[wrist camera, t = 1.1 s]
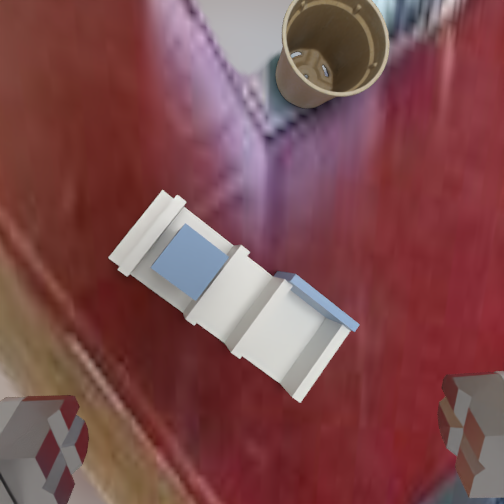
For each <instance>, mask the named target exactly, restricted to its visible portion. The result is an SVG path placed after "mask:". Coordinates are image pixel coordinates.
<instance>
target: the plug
mask: <svg viewBox="0 0 504 504" xmlns="http://www.w3.org/2000/svg"><path fill="white" fill-rule="evenodd" d="M228 258H229V257H228V256H227V255H226V254H225V253H223V252H222V251H221V250H219V249H218V248H217V247H216V246H214V245H213V244H212V243H210V242H209V241H208V240H207V239H205V238H204V237H203V236H201V235H200V234H199V233H198V232H196V231H195V230H194V229H192V228H191V227H190V226H188V225H187V224H186V223H185V224H184V225H183V226H182V228H181V229H180V230H179V231H178V232H177V234H176V235H175V236H174V237H173V239H172V240H171V241H170V243H169V244H168V245H167V246H166V248H165V249H164V250H163V251H162V253H161V254H160V255H159V257H158V258H157V259H156V260H155V262H154V263H153V264H152V266H151V268H152V269H153V270H154V271H156V272H157V273H158V274H160V275H161V276H162V277H164V278H165V279H166V280H168V281H169V282H170V283H172V284H173V285H174V286H176V287H177V288H179V289H180V290H181V291H183V292H184V293H185V294H187V295H188V296H189V297H191V298H192V299H193V300H195V301H196V300H197V299H198V298H199V296H200V295H201V294H202V292H203V291H204V290H205V288H206V287H207V286H208V284H209V283H210V282H211V281H212V279H213V278H214V277H215V275H216V274H217V273H218V271H219V270H220V269H221V267H222V266H223V265H224V263H225V262H226V261H227V259H228Z"/></svg>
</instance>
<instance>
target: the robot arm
mask: <svg viewBox="0 0 504 504" xmlns="http://www.w3.org/2000/svg"><path fill="white" fill-rule="evenodd" d="M442 390H443V392H444V394H445V396H446V397H445V398H444V399H443V400H441V401H440V402H439V406H438V414H437V415H438V424H439V429H440V433H441V436H442V439H443V441H444V443H445V446H446V448H447V449H449V450H450V451H451V452H452V453H454V454H455V455H456V456H457V460H456V465H455V468H456V470H457V472H458V475H459V477H460V479H461V481H462V483H463V486H464V488H465V490H466V492H467V494H468V497H469V498H496V497H504V371H496V372H480V373H464V374H449V375H446V376H445V377H444V379H443V383H442ZM78 409H79V404H78V402H77V400H76V398H75V396H71V395H62V396H27V397H6V398H4V399H3V400H1V401H0V504H67V503H68V500H69V498H70V495H71V493H72V490H73V488H74V485H75V483H74V480H73V477H72V474H73V473H74V472H75V471H76V470H77V469H78V468H79V467H81V466H82V464H83V462H84V459H85V456H86V453H87V448H88V440H89V436H88V428H87V425H86V423H85V421H84V420H83V419H82V418H80V417H79V416H77V415H76V414H77V411H78Z"/></svg>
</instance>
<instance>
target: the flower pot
mask: <svg viewBox="0 0 504 504" xmlns="http://www.w3.org/2000/svg"><path fill="white" fill-rule="evenodd" d="M282 44H283V48H282V52H281V55H280V58H279V61H278V64H277V67H276V82H277V86H278V89H279V91H280V92H281V94H282V96H283V97H284V98H285V99H286V100H287V101H288V102H290V103H292V104H294V105H296V106H298V107H300V108H314V107H317V106H319V105H321V104H323V103H324V102H326V101H328V100H331V99H333V98H335V97H346V96H352V95H355V94H358V93H360V92H362V91H364V90H366V89H367V88H369V87H370V86H371V85H372V84H373V83H374V82H375V81H376V80H377V79H378V78H379V76H380V75H381V73H382V72H383V70H384V68H385V65H386V63H387V59H388V55H389V37H388V30H387V27H386V23H385V21H384V19H383V16H382V14H381V13H380V11H379V9H378V8H377V6H376V5H375V4H374V3H373V1H372V0H293V1H292V3H291V4H290V6H289V8H288V10H287V12H286V14H285V17H284V21H283V27H282ZM295 52H300V53H301V55H298V56H295V57H293V58H291V56H290V55H291V54H292V53H295ZM322 65H324V67H325V68H326V69H327V72H328V74H329V76H328V77H327V76H325V74H324V70H323V68H322ZM304 75H307V76H308V78H307V79H306V78H305V77H304Z"/></svg>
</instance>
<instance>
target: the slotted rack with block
mask: <svg viewBox="0 0 504 504" xmlns="http://www.w3.org/2000/svg"><path fill="white" fill-rule="evenodd" d="M185 204H186V201H185V200H183V199H182V198H181V197H179V196H178V195H176V197H175V198H174V199H173V198H172V197H171V196H170V195H168V194H167V193H166V192H164V191H163V190H162V191H161V193H160V194H159V195H158V196H157V198H156V199H155V200H154V201H153V202H152V204H151V205H150V206H149V207H148V209H147V210H146V211H145V212H144V214H143V215H142V216H141V217H140V219H139V220H138V221H137V222H136V224H135V225H134V226H133V227H132V229H131V230H130V231H129V232H128V234H127V235H126V236H125V237H124V239H123V240H122V241H121V242H120V244H119V245H118V246H117V247H116V249H115V250H114V251H113V252H112V254H111V255H110V256H109V257H108V258H109V259H110V260H111V261H113V262H114V263H116V264H117V265H118V266H120V267H119V268H118V269H117V270H118V271H120V272H121V273H122V274H124V275H125V276H127V277H128V276H129V275H130V274H131V275H132V276H133V277H135V278H136V279H137V280H139V281H140V282H142V283H143V284H144V285H146V286H147V287H148V288H150V289H151V290H152V291H154V292H155V293H157V294H158V295H159V296H161V297H162V298H163V299H165V300H166V301H168V302H169V303H170V304H172V305H173V306H174V307H176V308H177V309H178V310H180V311H181V312H183V315H184V318H185V319H186V320H187V321H188V322H190V323H191V324H192V325H194V326H195V324H196V323H198V324H199V325H200V326H202V327H203V328H204V329H206V330H207V331H209V332H210V333H211V334H213V335H214V336H215V337H217V338H218V339H220V340H221V341H222V342H224V343H225V345H226V346H227V348H228V349H229V350H230V352H231V353H232V354H234V355H235V356H236V357H238V358H239V359H240V358H241V357H242V356H243V357H244V358H246V359H247V360H248V361H250V362H251V363H252V364H254V365H255V366H256V367H258V368H259V369H261V370H262V371H263V372H265V373H266V374H267V375H269V376H270V377H272V378H273V379H274V380H276V381H277V382H278V383H280V384H281V385H282V386H283V388H284V389H285V390H286V391H287V392H288V393H289V394H290V395H291V396H292V397H293V398H294V399H295V400H297V401H298V402H300V403H301V401H302V400H303V398H304V397H305V396H306V394H307V393H308V391H309V390H310V388H311V387H312V385H313V384H314V383H315V381H316V380H317V378H318V377H319V375H320V374H321V373H322V371H323V370H324V368H325V367H326V365H327V364H328V362H329V361H330V360H331V358H332V357H333V355H334V354H335V352H336V351H337V350H338V348H339V347H340V345H341V344H342V342H343V341H344V339H345V338H346V337H347V335H348V334H349V332H350V330H351V331H354V332H355V331H356V329H357V328H358V326H359V324H358V323H357V322H356V321H354V320H353V319H352V318H351V317H349V316H348V315H347V314H346V313H344V312H343V311H342V310H341V309H339V308H338V307H337V306H335V305H334V304H333V303H332V302H330V301H329V300H328V299H327V298H325V297H324V296H323V295H322V294H320V293H319V292H318V291H317V290H315V289H314V288H313V287H311V286H310V285H309V284H308V283H306V282H305V281H304V280H303V279H301V278H300V277H299V276H298V275H296V274H293V273H287V272H281V271H277V272H276V274H275V275H274V276H272V275H271V274H269V273H268V272H267V271H265V270H264V269H263V268H262V267H260V266H259V265H258V264H257V263H255V262H254V261H253V260H251V259H250V258H249V257H248V256H247V255H248V254H249V253H250V251H248V250H247V249H246V248H244V247H243V246H242V245H235V246H234V245H232V244H231V243H230V242H228V241H227V240H226V239H225V238H223V237H222V236H221V235H219V234H218V233H217V232H216V231H214V230H213V229H212V228H210V227H209V226H208V225H207V224H205V223H204V222H203V221H202V220H200V219H199V218H198V217H196V216H195V215H194V214H193V213H191V212H190V211H189V210H187V209H186V208H185V207H184V206H185ZM185 223H186V224H187V225H188V226H190V227H191V228H192V229H194V230H195V231H196V232H198V233H199V234H200V235H201V236H203V237H204V238H205V239H207V240H208V241H209V242H210V243H212V244H213V245H214V246H216V247H217V248H218V249H219V250H221V251H222V252H223V253H225V254H226V255H227V256H228V257H229V258H228V259H227V261H226V262H225V263H224V265H223V266H222V267H221V269H220V270H219V271H218V273H217V274H216V275H215V277H214V278H213V279H212V281H211V282H210V283H209V284H208V286H207V287H206V288H205V290H204V291H203V292H202V294H201V295H200V296H199V298H198V299H197V300H196V301H195V300H193V299H192V298H191V297H189V296H188V295H187V294H185V293H184V292H183V291H181V290H180V289H179V288H177V287H176V286H174V285H173V284H172V283H170V282H169V281H168V280H166V279H165V278H164V277H162V276H161V275H160V274H158V273H157V272H156V271H154V270H153V269H152V268H151V266H152V264H153V263H154V262H155V260H156V259H157V258H158V257H159V255H160V254H161V253H162V251H163V250H164V249H165V248H166V246H167V245H168V244H169V243H170V241H171V240H172V239H173V237H174V236H175V235H176V234H177V232H178V231H179V230H180V229H181V228H182V226H183V225H184V224H185Z"/></svg>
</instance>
